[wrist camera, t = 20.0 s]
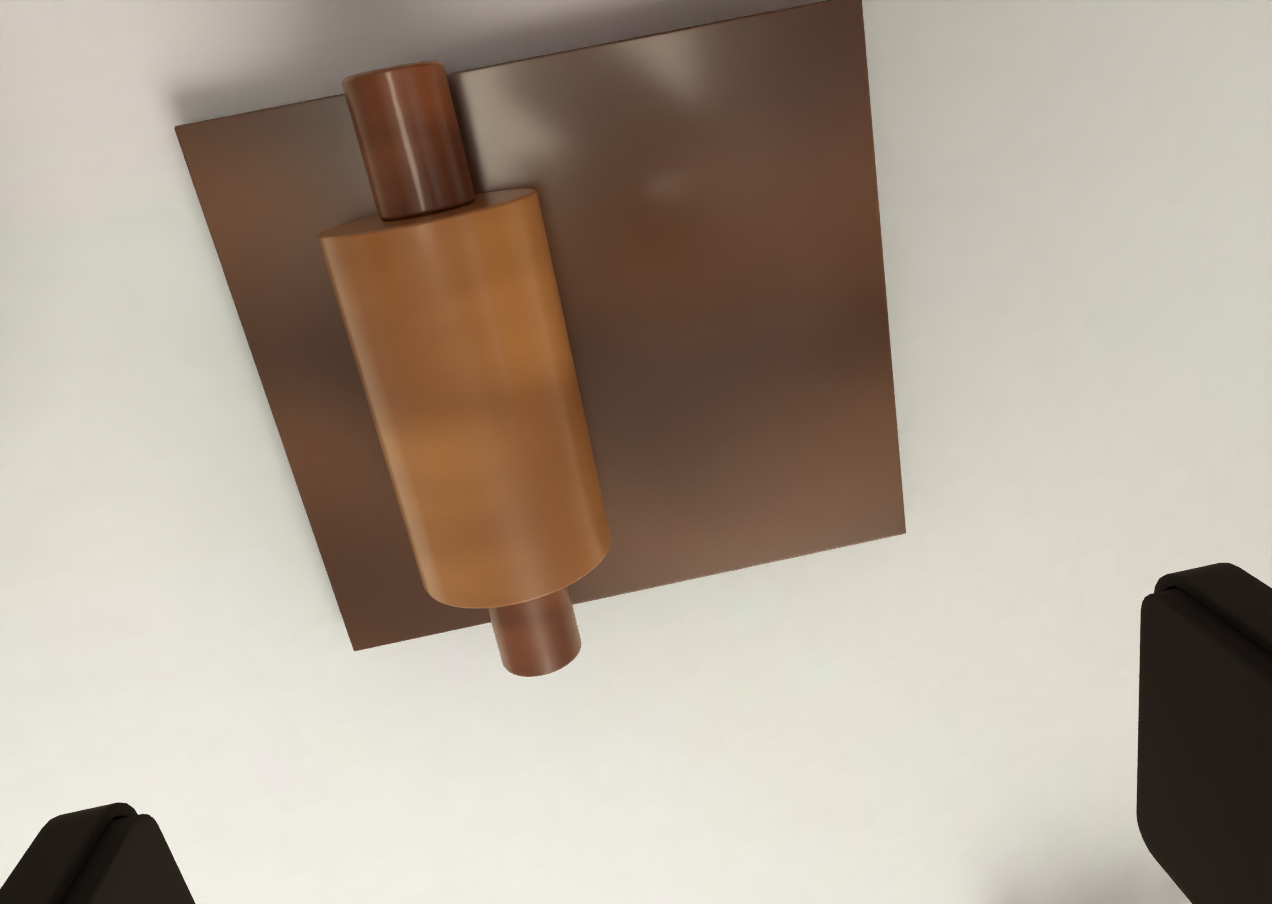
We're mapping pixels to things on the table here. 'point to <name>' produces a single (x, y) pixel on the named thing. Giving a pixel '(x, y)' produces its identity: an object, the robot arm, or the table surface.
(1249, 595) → the robot arm
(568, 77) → the pastry board
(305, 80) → the table surface
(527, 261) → the rolling pin
